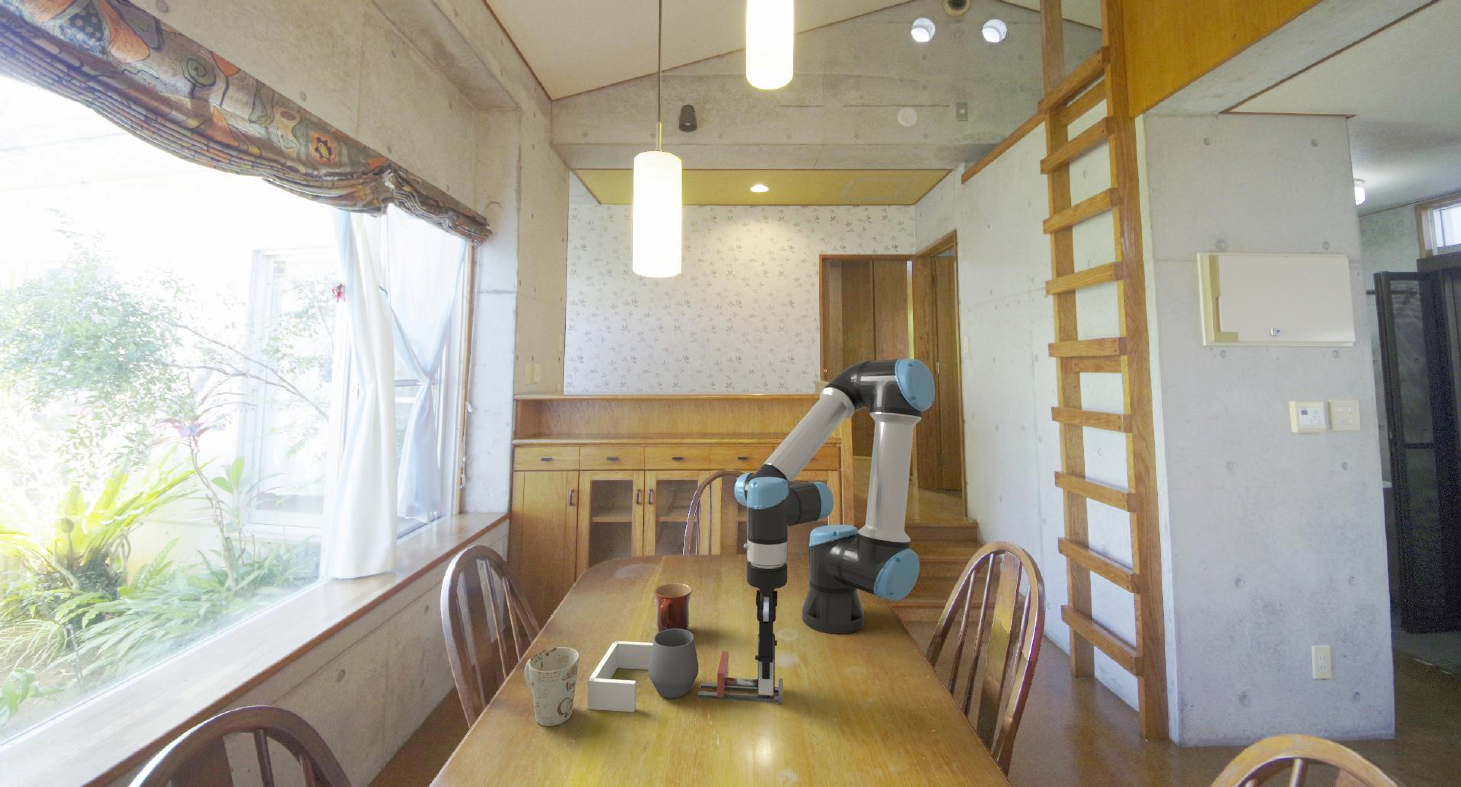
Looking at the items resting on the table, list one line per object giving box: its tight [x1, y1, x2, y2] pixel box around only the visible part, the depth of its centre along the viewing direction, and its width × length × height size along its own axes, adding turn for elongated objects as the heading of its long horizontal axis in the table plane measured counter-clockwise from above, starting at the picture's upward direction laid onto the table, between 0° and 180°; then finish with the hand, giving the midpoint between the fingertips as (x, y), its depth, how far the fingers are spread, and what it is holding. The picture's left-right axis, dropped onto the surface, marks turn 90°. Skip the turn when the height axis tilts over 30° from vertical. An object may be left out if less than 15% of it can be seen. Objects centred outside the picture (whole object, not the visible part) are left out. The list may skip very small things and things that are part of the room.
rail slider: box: [716, 633, 776, 698], centre depth 98 cm, size 10×8×10 cm
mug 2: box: [654, 582, 693, 633], centre depth 121 cm, size 12×9×10 cm
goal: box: [587, 640, 653, 713], centre depth 101 cm, size 8×15×5 cm, turn 174°
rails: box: [697, 678, 784, 706], centre depth 99 cm, size 16×5×2 cm, turn 85°
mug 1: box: [524, 646, 580, 727], centre depth 93 cm, size 8×13×10 cm, turn 58°
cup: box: [648, 629, 699, 699], centre depth 100 cm, size 10×9×10 cm
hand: (766, 687), depth 98 cm, fingers closed on rail slider, 3 cm apart
